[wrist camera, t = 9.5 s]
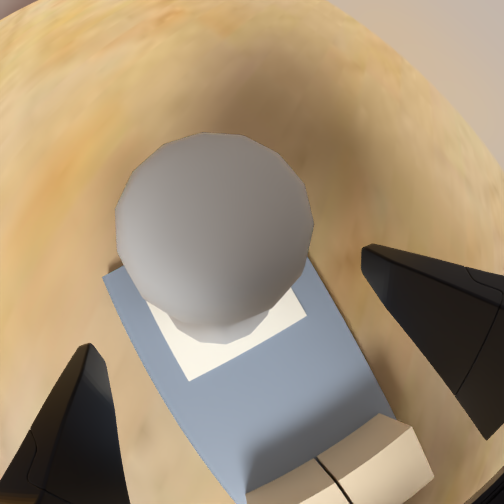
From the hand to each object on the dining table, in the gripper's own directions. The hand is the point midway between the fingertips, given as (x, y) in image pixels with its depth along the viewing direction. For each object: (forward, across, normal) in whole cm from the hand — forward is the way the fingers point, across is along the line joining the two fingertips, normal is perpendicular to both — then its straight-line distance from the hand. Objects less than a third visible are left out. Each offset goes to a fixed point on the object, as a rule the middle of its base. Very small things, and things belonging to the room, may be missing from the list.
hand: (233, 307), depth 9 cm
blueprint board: (+4, -1, +11) cm, 12 cm away
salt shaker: (+8, 0, +5) cm, 9 cm away
